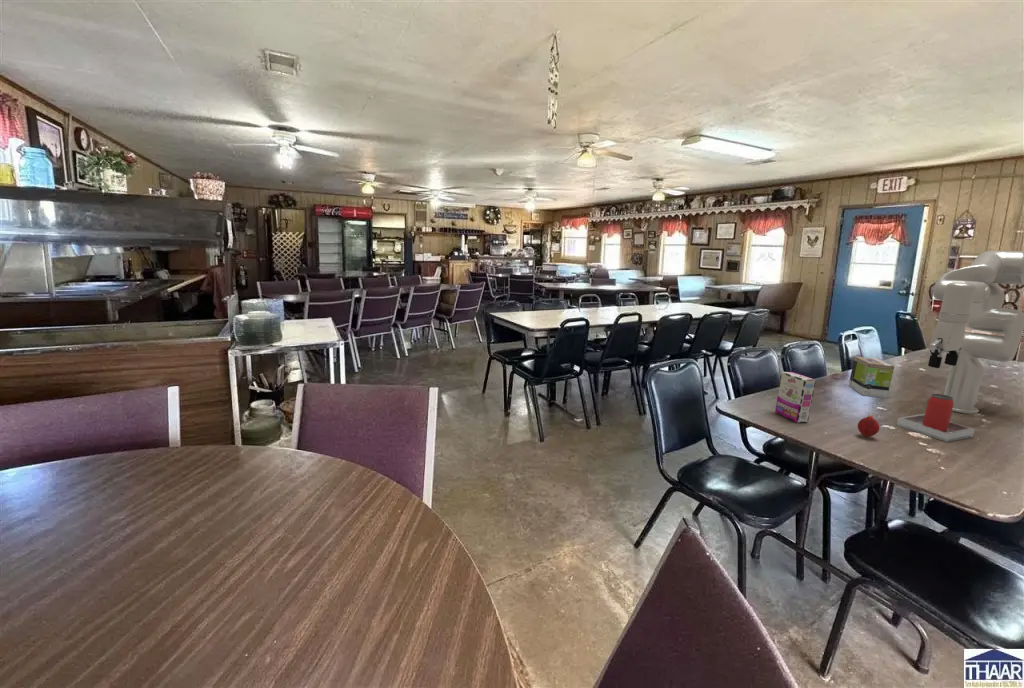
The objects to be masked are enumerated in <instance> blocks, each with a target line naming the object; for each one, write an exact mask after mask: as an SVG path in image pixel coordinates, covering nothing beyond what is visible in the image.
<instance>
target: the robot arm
mask: <svg viewBox="0 0 1024 688" xmlns="http://www.w3.org/2000/svg"><path fill="white" fill-rule="evenodd" d="M998 284H1001V285H1014V286H1015V285H1016V286H1022V285H1023V286H1024V251H1022V250H1020V251H1019V250H987V251H984V252H982V253H979V254H978V255H977V256H976V257H975V259H974V260H973V261H972V262H971V263H970V265H969V266H964V267H961V268H957V269H954V270H953V269H952V270H950V271H947V272H945V273H944V274H942V276H941V277H940V278H939V279H938V280H937V281H936V282H935V285H934V286H933V289H932V295H933V298H934V299H936V300H938V301H942V302H941V306H940V311H939V315H938V320H937V324H936V325H935V327H934V330H933V334H932V336H931V340H930V343H929V351H930V353H929V360H928V364H927V366H928V367H931V368H936V369H940V368H941V365H942V360H943V357H942V355H943V354H944V353H945V352H947V353H946V354H945V358H944V365H949V366H950V368H949V372H948V376H947V379H946V384H945V387H944V393H943V395H947V396H950V397H952V398H953V402H954V405H953V409H952V412H955V413H962V414H970V415H974V414H978V413H979V408H977V407H975V405H976V404H979V400H978V399H977V398H978V393H979V389H980V386H981V382H982V379H983V375H984V366H983V364H982V363H981V362H980V360H979V359H983V360H989V361H994V362H995V361H996V362H1002V363H1005V362H1006V363H1007V362H1008V363H1009V362H1011V361H1012V360H1013V359H1014V358H1015V357H1016V354H1017V351H1018V349H1019V345H1020V341H1021V339H1022V336H1023V332H1024V312H1023V311H1021V310H1018V309H1011V308H1010V309H1009V308H1003V304H1004V302H1005V298H1006V296H1005V293H1004V292H1003V290H1002V289H1001V288H1000V287H999V285H998ZM966 326H967V327H968V328H969V329H970V330H971V329H972V330H976V331H981V332H990V333H996V334H1002V335H1003V336H999V335H995V334H994V335H992V334H986V333H980V332H970V331H968V332H966Z"/></svg>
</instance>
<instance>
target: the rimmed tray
mask: <svg viewBox="0 0 1024 688" xmlns="http://www.w3.org/2000/svg"><path fill="white" fill-rule="evenodd" d="M924 416H925V413H920V414H913V415H908V416H902V417H898V418H897V423H896V426H898V427H899V428H900V427H901V428H904V429H905V430H909V431H912V432H916V433H918V434H919V435H924V436H927V437H930V438H933V439H936V440H938V441H941V440H942V441H941V442H944V443H951V442H956V441H961V440H965V439H971V438H973V437H974V435H975V428H973V427H970V426H966V425H962V424H960V423H955V422H953V421H949V425H948V429H947V430H946V431H941V430H938V429H934V428H931V427H928V426H925V425H923V421H924ZM970 437H971V438H970Z"/></svg>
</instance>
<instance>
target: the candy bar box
mask: <svg viewBox="0 0 1024 688" xmlns="http://www.w3.org/2000/svg"><path fill="white" fill-rule="evenodd" d="M779 381H780V382H779V386H778V393H777V399H776V405H775V411H774V413H775V412H776V413H775V414H777V413H778V414H777V415H779V414H780V416H781V415H782V417H784V418H785V419H788V420H791V421H792V422H794V423H797V424H805V423H804V422H807V423H809V418H810V413H811V407H812V404H813V403H812V401H813V397H814V391H815V387H816V383H817V380H816V379H814V378H811V377H809V376H806V375H802V374H800V373H796V372H793V371H782V372H781V375H780V380H779Z"/></svg>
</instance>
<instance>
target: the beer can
mask: <svg viewBox="0 0 1024 688" xmlns="http://www.w3.org/2000/svg"><path fill="white" fill-rule="evenodd" d="M953 405H954V402H953V398H952V397H950V396H947V395H944V394H941V393H932V394H931V395H930V397H929V398H928V401H927V405H926V408H925V413H924V414H925V416H924V421H923V425H925V426H928V427H931V428H934V429H938V430H941V431H946V430H947V429H948V425H949V421H950V419H951V418H952V417H951V416H952V412H953V411H952V409H953ZM950 422H951V421H950Z"/></svg>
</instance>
